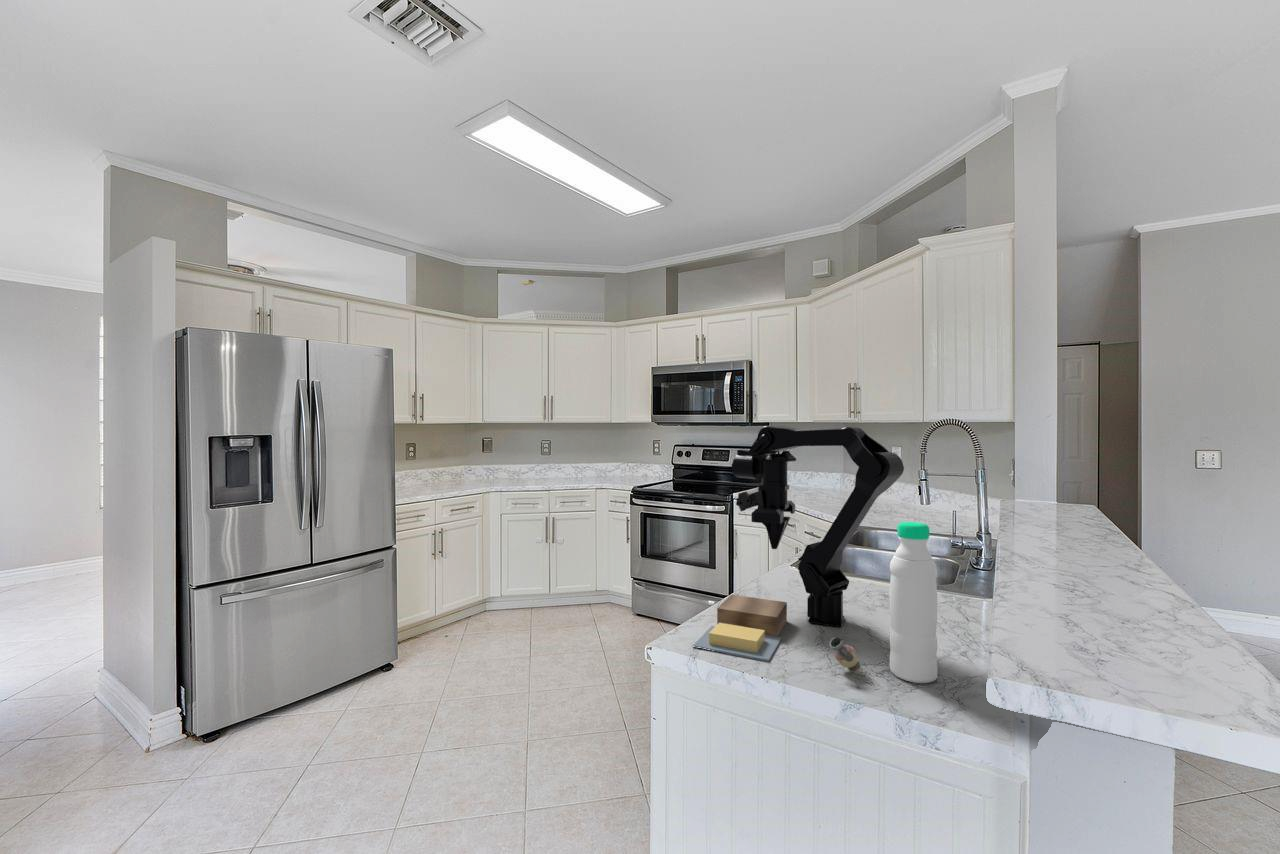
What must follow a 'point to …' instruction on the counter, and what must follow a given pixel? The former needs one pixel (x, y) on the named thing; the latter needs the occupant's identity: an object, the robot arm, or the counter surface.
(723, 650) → the mat
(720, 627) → the pale yellow rectangular block
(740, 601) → the brown box
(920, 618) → the water bottle
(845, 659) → the vase
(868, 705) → the counter surface
